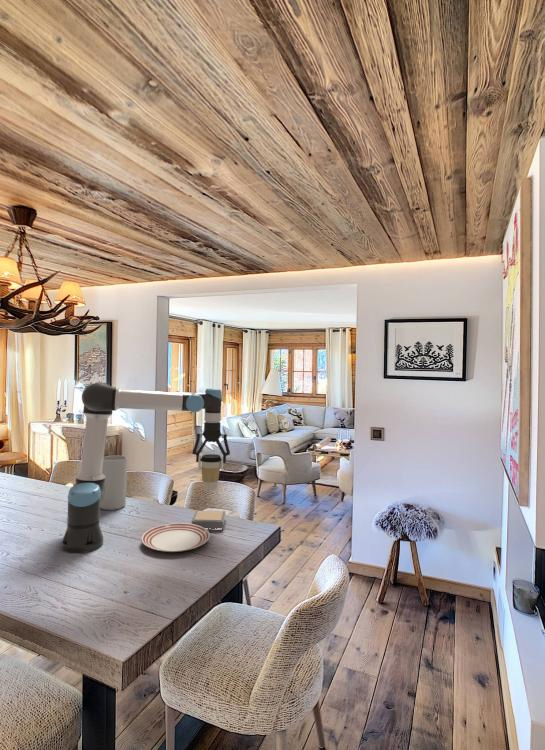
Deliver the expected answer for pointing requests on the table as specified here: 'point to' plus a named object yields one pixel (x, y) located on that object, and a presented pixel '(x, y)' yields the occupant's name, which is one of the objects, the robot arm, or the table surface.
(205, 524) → the trivet base
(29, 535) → the table surface
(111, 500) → the cylinder vase
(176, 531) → the dinner plate
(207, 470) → the coffee cup
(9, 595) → the table surface
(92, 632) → the table surface
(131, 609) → the table surface
